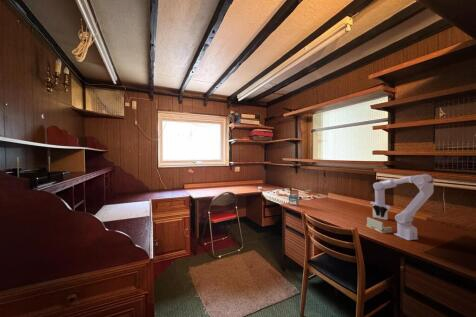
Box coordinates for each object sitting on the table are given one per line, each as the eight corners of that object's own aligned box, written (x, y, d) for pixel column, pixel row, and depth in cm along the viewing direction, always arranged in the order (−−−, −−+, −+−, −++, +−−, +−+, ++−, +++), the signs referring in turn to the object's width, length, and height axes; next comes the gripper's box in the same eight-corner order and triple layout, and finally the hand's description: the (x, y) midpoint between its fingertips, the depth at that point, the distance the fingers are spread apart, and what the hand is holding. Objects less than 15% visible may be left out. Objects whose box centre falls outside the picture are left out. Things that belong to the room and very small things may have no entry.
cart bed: (392, 232, 129) (391, 227, 129) (382, 233, 128) (382, 228, 128) (375, 225, 142) (375, 220, 142) (366, 226, 141) (366, 221, 141)
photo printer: (372, 217, 159) (371, 203, 159) (373, 216, 162) (373, 202, 162) (387, 220, 151) (386, 205, 151) (388, 219, 154) (388, 204, 154)
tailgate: (383, 230, 129) (383, 222, 129) (382, 230, 128) (381, 223, 128) (367, 224, 141) (367, 217, 141) (366, 224, 141) (366, 217, 141)
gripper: (366, 196, 142) (367, 213, 142) (384, 200, 127) (385, 220, 128) (374, 195, 143) (374, 212, 143) (393, 200, 128) (393, 219, 129)
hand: (380, 216), depth 135 cm, fingers open, 3 cm apart
